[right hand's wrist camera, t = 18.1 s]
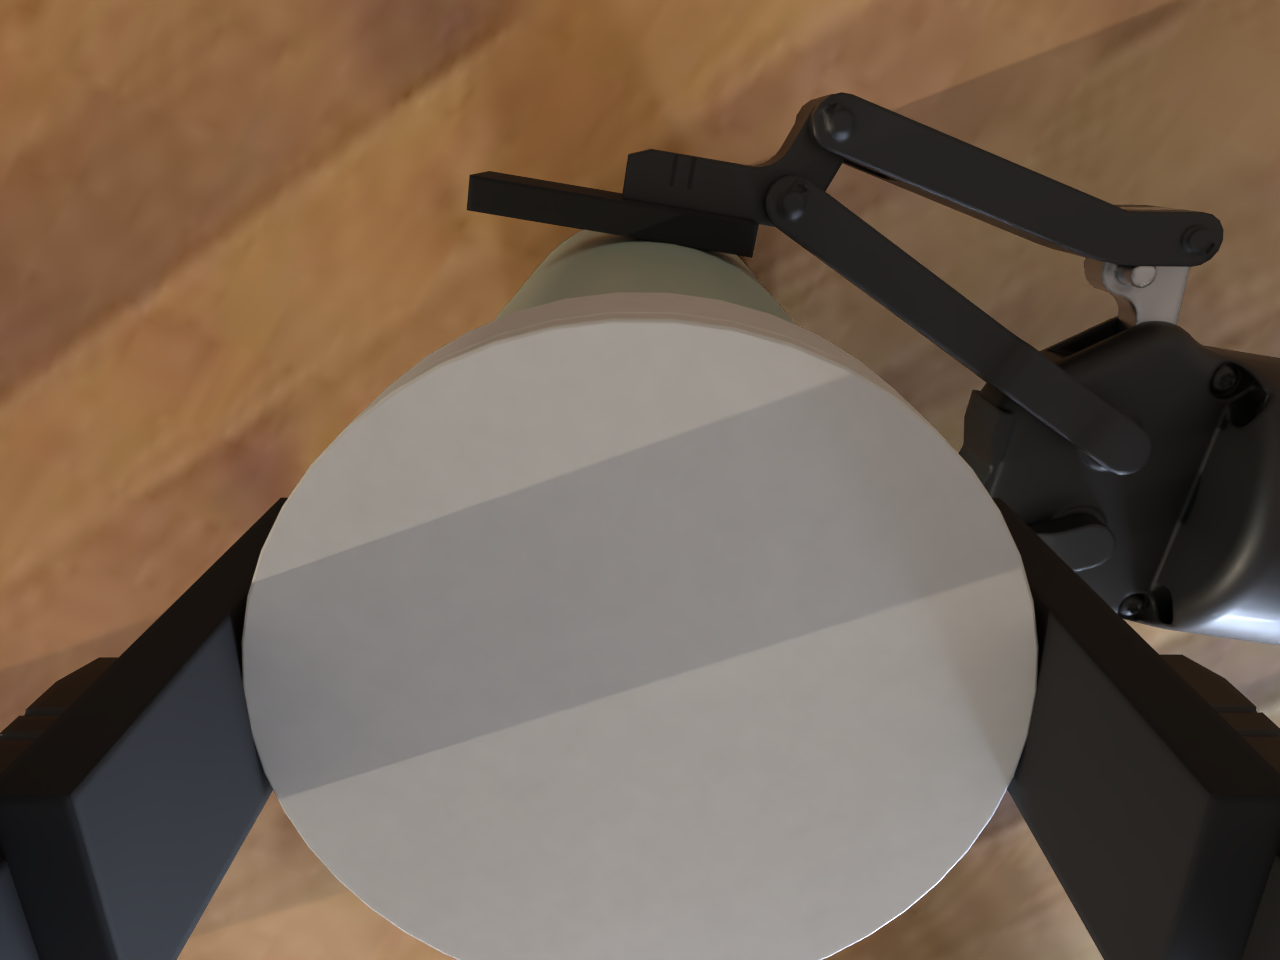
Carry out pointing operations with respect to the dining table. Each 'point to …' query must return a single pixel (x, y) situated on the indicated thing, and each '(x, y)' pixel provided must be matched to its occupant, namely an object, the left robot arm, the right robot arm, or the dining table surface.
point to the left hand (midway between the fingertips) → (462, 377)
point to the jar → (640, 273)
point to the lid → (639, 642)
